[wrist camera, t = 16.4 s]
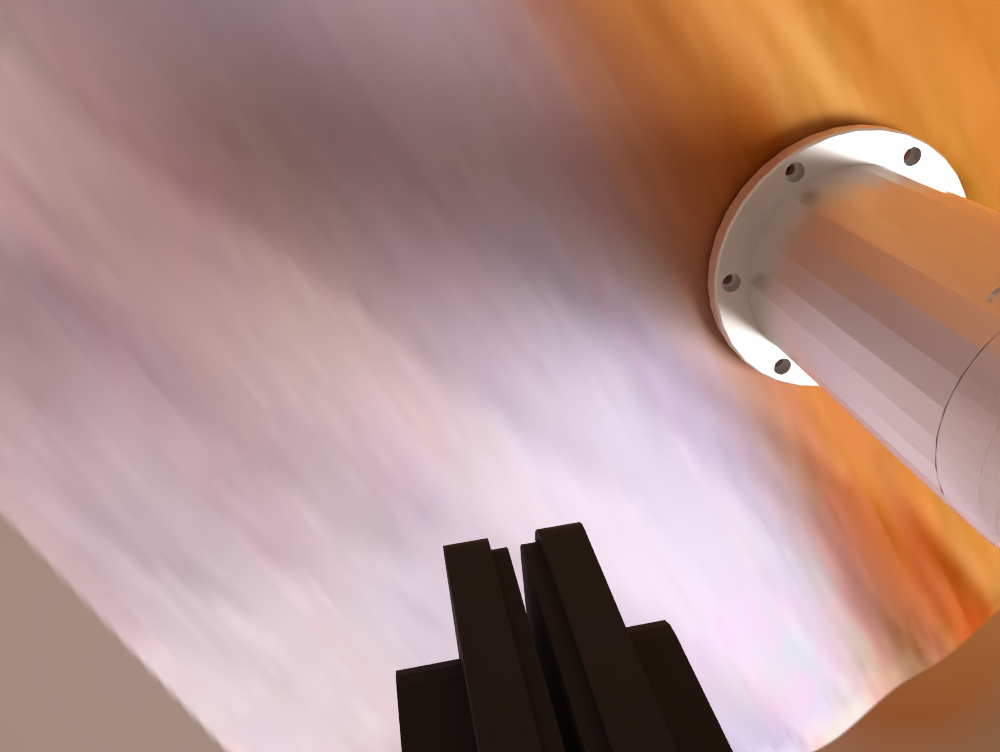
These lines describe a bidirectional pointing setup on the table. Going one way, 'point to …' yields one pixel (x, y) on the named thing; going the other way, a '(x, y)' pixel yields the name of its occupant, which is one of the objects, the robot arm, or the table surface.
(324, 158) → the table surface
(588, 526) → the table surface
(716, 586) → the table surface
